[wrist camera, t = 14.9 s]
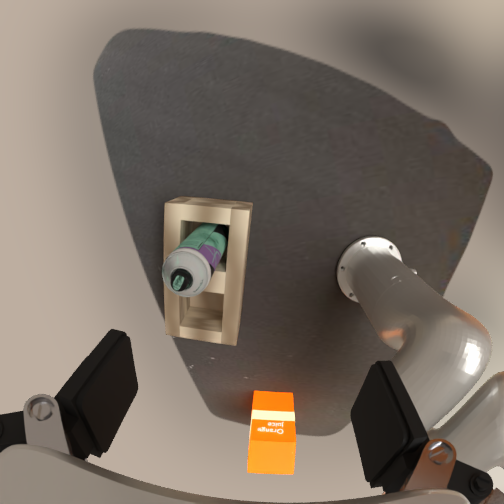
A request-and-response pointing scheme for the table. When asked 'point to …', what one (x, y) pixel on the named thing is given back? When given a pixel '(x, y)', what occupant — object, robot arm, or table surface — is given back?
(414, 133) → the table surface
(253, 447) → the orange juice
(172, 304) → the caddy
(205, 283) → the spray can
